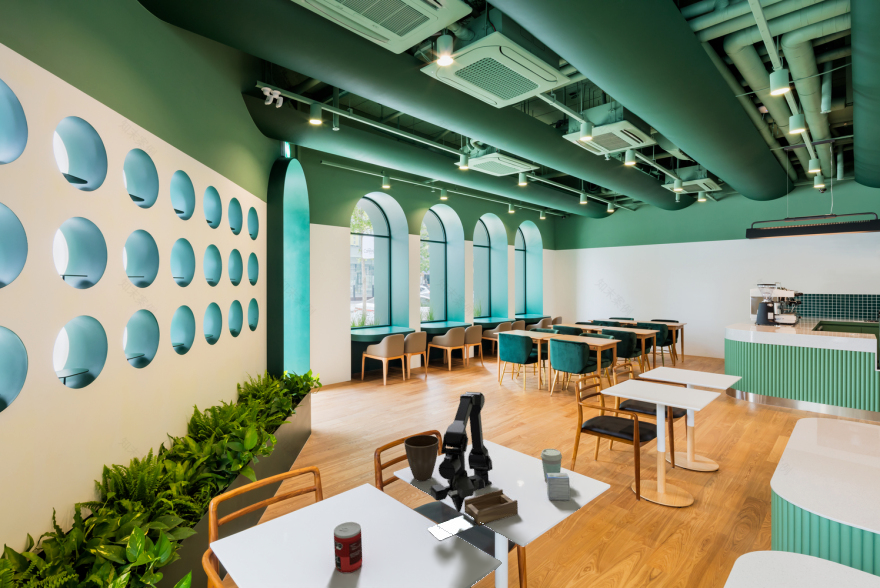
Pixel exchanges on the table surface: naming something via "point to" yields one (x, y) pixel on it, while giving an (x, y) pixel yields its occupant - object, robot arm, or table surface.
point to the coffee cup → (551, 461)
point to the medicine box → (558, 486)
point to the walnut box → (490, 507)
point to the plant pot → (422, 455)
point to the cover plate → (453, 527)
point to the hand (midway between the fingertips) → (458, 511)
